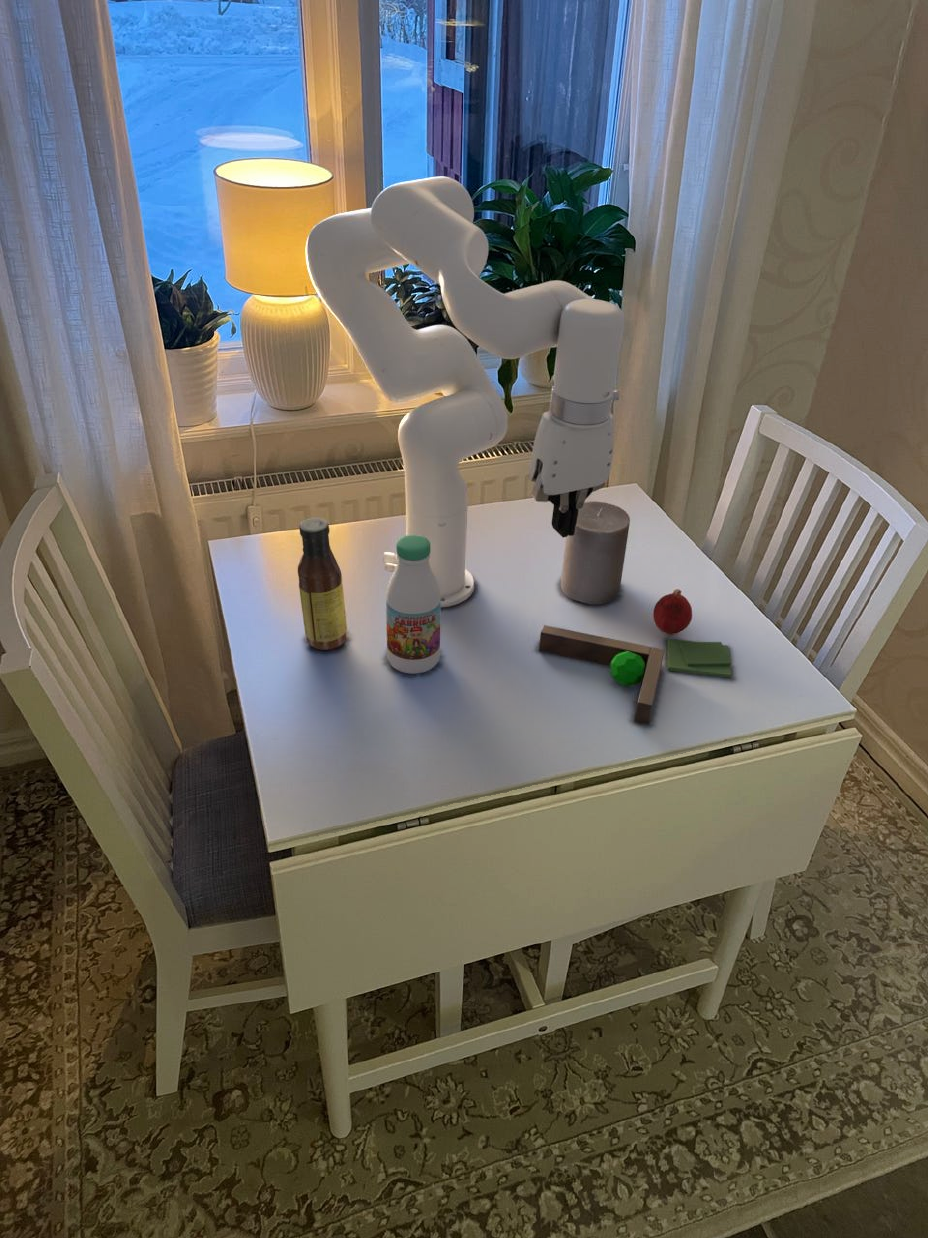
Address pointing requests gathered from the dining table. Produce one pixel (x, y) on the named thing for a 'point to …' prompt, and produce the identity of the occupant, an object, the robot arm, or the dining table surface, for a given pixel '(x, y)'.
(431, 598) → the milk bottle
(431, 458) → the robot arm
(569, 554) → the pillar candle
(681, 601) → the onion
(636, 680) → the polyhedron
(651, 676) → the corner stop
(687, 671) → the green rag
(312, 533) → the sauce bottle
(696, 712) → the dining table surface
